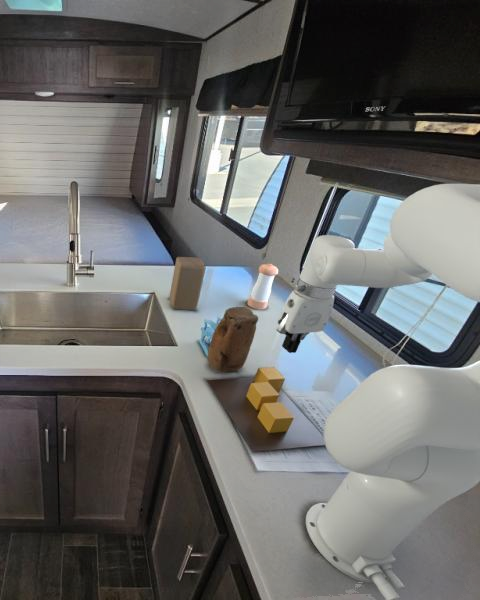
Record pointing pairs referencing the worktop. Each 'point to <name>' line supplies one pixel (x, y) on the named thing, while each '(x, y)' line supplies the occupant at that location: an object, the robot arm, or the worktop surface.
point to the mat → (252, 428)
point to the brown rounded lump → (232, 339)
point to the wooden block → (187, 283)
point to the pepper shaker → (262, 287)
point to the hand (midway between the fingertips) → (288, 349)
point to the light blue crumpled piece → (208, 332)
